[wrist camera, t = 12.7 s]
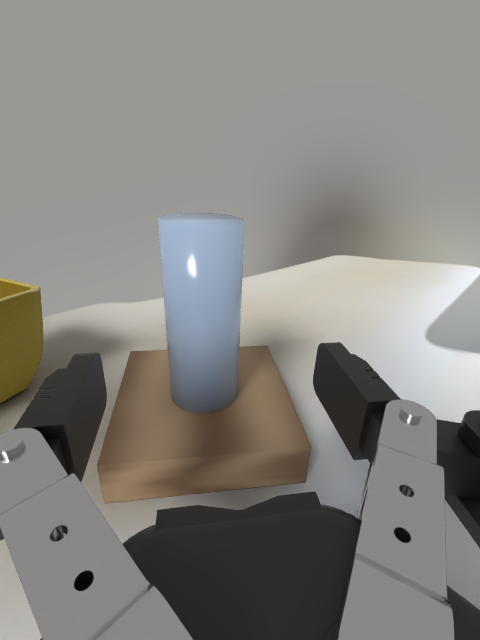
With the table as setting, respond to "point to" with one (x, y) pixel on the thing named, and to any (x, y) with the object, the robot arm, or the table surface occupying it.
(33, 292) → the flower pot
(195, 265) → the pale blue tumbler
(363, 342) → the table surface
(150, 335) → the table surface
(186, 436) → the stand
